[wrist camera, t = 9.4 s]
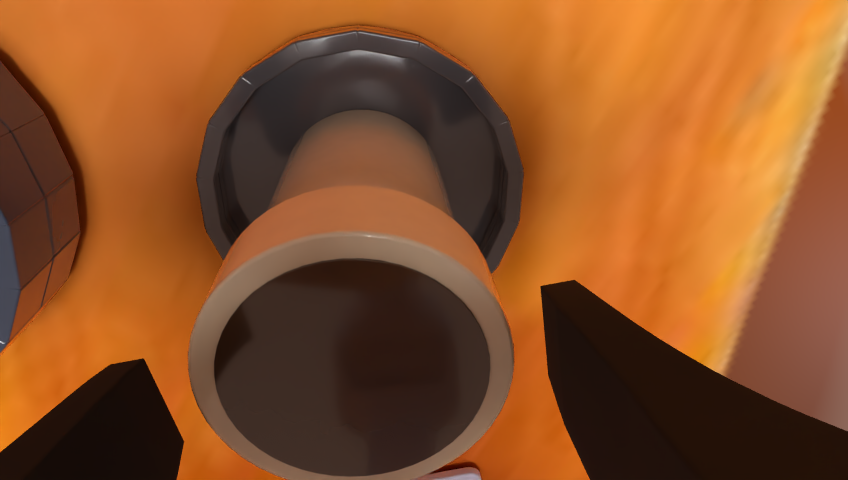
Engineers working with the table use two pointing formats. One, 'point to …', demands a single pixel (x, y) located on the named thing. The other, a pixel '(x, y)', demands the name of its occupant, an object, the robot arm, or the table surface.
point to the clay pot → (353, 316)
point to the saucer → (361, 90)
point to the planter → (31, 211)
